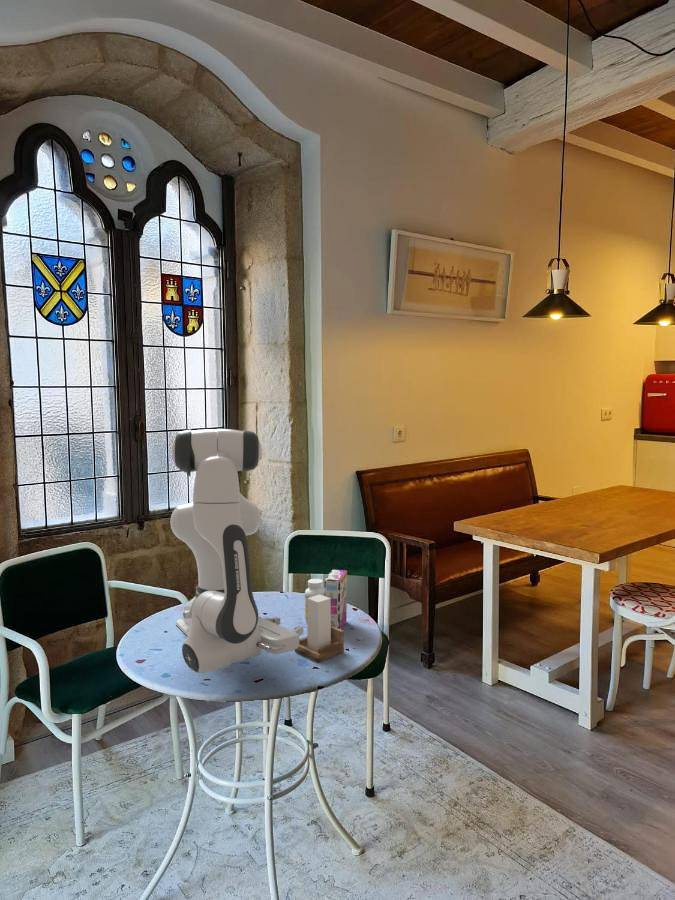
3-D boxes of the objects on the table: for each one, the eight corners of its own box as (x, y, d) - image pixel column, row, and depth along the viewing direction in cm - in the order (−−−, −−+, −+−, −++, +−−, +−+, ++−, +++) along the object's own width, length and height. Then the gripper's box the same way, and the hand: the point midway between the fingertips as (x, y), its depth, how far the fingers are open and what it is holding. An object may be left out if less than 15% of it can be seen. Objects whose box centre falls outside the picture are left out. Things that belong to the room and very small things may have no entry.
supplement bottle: (321, 616, 200) (320, 576, 199) (330, 623, 194) (330, 582, 193) (301, 619, 197) (301, 579, 196) (310, 626, 191) (310, 585, 190)
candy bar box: (340, 635, 184) (340, 580, 183) (323, 634, 185) (323, 579, 184) (347, 621, 195) (347, 569, 194) (331, 620, 196) (331, 568, 195)
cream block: (307, 647, 173) (307, 598, 172) (321, 642, 177) (320, 594, 175) (318, 652, 170) (318, 602, 169) (332, 647, 173) (331, 598, 172)
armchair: (294, 651, 173) (294, 630, 173) (320, 641, 180) (320, 621, 179) (317, 662, 167) (317, 640, 166) (343, 651, 173) (343, 630, 172)
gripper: (271, 639, 148) (316, 623, 157) (223, 616, 163) (266, 603, 172) (272, 665, 149) (316, 648, 158) (223, 640, 163) (266, 626, 173)
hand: (289, 625), depth 165 cm, fingers open, 8 cm apart
